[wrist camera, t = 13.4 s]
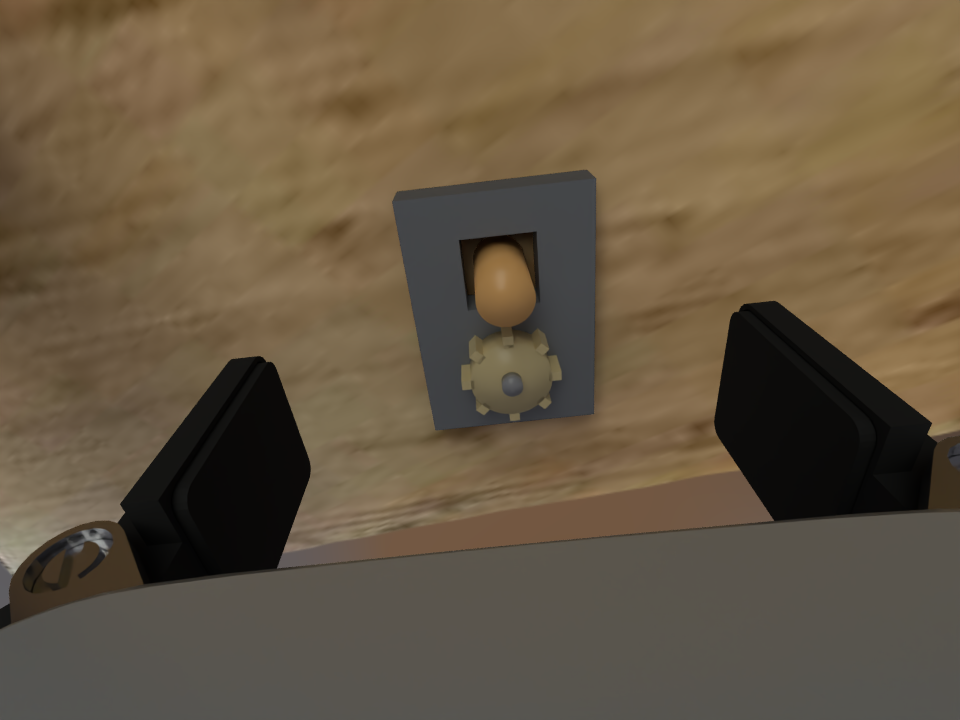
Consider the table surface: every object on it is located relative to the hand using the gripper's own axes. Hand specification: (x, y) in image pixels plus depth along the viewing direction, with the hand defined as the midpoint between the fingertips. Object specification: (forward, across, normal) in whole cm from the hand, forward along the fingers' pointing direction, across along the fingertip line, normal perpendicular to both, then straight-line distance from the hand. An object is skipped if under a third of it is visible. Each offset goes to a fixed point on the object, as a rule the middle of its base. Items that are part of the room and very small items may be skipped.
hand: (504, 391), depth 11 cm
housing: (+30, -1, +12) cm, 33 cm away
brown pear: (+30, -1, +8) cm, 31 cm away
